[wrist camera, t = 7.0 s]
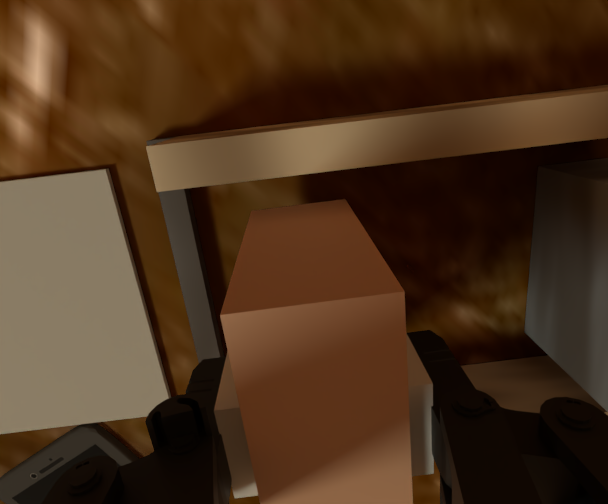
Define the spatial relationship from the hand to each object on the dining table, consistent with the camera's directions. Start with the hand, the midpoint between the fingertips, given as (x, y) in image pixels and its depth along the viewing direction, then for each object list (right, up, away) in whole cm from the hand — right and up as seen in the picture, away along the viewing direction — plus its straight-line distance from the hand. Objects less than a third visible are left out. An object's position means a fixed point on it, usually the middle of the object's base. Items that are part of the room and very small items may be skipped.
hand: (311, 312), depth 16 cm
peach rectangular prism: (0, 0, +1) cm, 1 cm away
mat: (-13, -1, +3) cm, 14 cm away
